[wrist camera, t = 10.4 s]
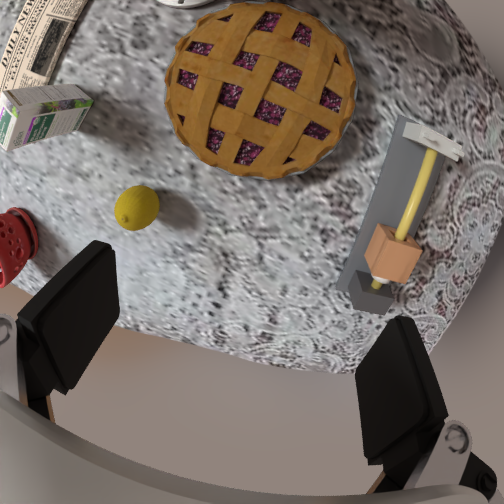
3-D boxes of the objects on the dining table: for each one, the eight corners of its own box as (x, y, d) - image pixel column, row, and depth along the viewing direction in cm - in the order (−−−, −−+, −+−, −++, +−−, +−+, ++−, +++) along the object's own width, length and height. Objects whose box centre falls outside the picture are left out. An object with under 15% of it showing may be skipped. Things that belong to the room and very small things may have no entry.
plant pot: (16, 188, 40) (-27, 213, 29) (51, 237, 44) (10, 270, 34) (2, 225, 45) (-34, 250, 34) (33, 268, 49) (0, 299, 39)
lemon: (174, 191, 37) (149, 212, 30) (159, 222, 40) (133, 248, 33) (142, 171, 36) (111, 188, 29) (128, 203, 39) (99, 225, 32)
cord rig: (398, 114, 29) (421, 118, 22) (447, 138, 29) (475, 148, 22) (335, 286, 41) (341, 317, 35) (380, 297, 41) (391, 326, 35)
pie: (157, 148, 35) (139, 154, 30) (202, -3, 24) (189, -17, 20) (316, 197, 36) (320, 210, 31) (373, 44, 25) (386, 35, 20)
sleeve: (377, 222, 34) (389, 240, 30) (408, 233, 34) (422, 250, 30) (364, 255, 37) (372, 275, 32) (394, 263, 37) (405, 284, 32)
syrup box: (78, 132, 34) (6, 154, 21) (57, 112, 32) (-13, 130, 20) (95, 100, 32) (20, 112, 19) (73, 82, 30) (0, 89, 17)
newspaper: (34, 141, 36) (23, 145, 33) (-11, 109, 32) (-21, 111, 30) (130, -53, 18) (122, -59, 16) (63, -54, 15) (54, -57, 13)
